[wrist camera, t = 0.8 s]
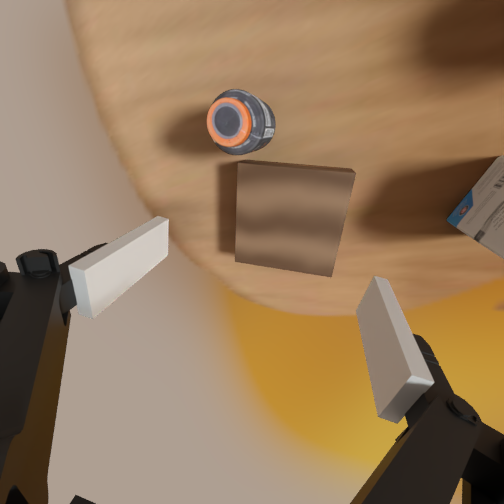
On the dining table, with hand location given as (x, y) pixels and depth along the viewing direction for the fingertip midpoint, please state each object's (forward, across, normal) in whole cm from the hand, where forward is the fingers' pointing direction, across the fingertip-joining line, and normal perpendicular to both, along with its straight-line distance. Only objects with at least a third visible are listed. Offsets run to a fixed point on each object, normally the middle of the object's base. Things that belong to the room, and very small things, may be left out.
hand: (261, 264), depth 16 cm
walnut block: (+22, +1, -4) cm, 22 cm away
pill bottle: (+22, -7, +7) cm, 24 cm away
